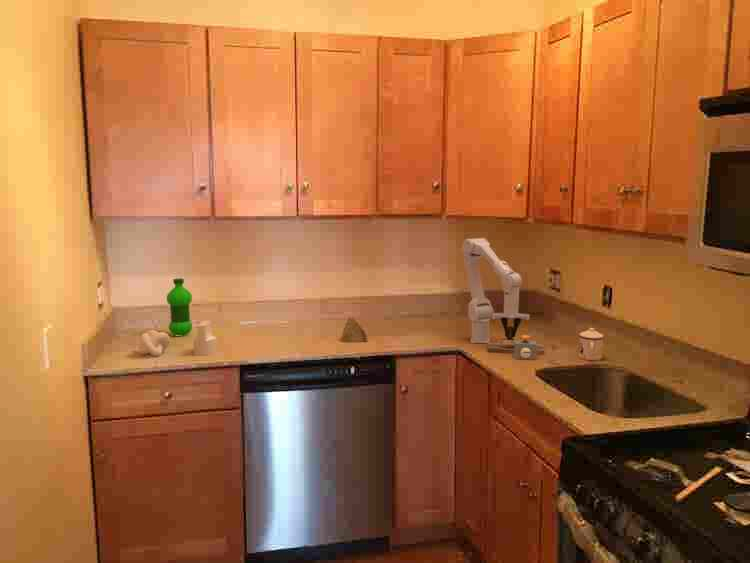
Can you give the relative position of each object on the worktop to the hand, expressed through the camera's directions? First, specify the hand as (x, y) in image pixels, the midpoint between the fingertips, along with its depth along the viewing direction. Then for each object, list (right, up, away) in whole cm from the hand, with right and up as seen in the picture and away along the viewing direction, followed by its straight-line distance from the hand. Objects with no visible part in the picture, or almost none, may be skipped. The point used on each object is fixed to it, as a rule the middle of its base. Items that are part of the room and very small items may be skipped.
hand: (510, 336), depth 253 cm
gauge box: (+4, -7, -9) cm, 12 cm away
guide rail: (+2, -4, 0) cm, 5 cm away
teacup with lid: (+29, -8, -11) cm, 32 cm away
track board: (+2, -6, +1) cm, 6 cm away
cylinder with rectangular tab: (-122, -6, -4) cm, 122 cm away
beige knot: (-142, -7, -6) cm, 143 cm away
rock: (-63, -4, +15) cm, 65 cm away
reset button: (+4, -1, -10) cm, 11 cm away
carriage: (0, -4, +1) cm, 4 cm away
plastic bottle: (-141, -2, +25) cm, 143 cm away
